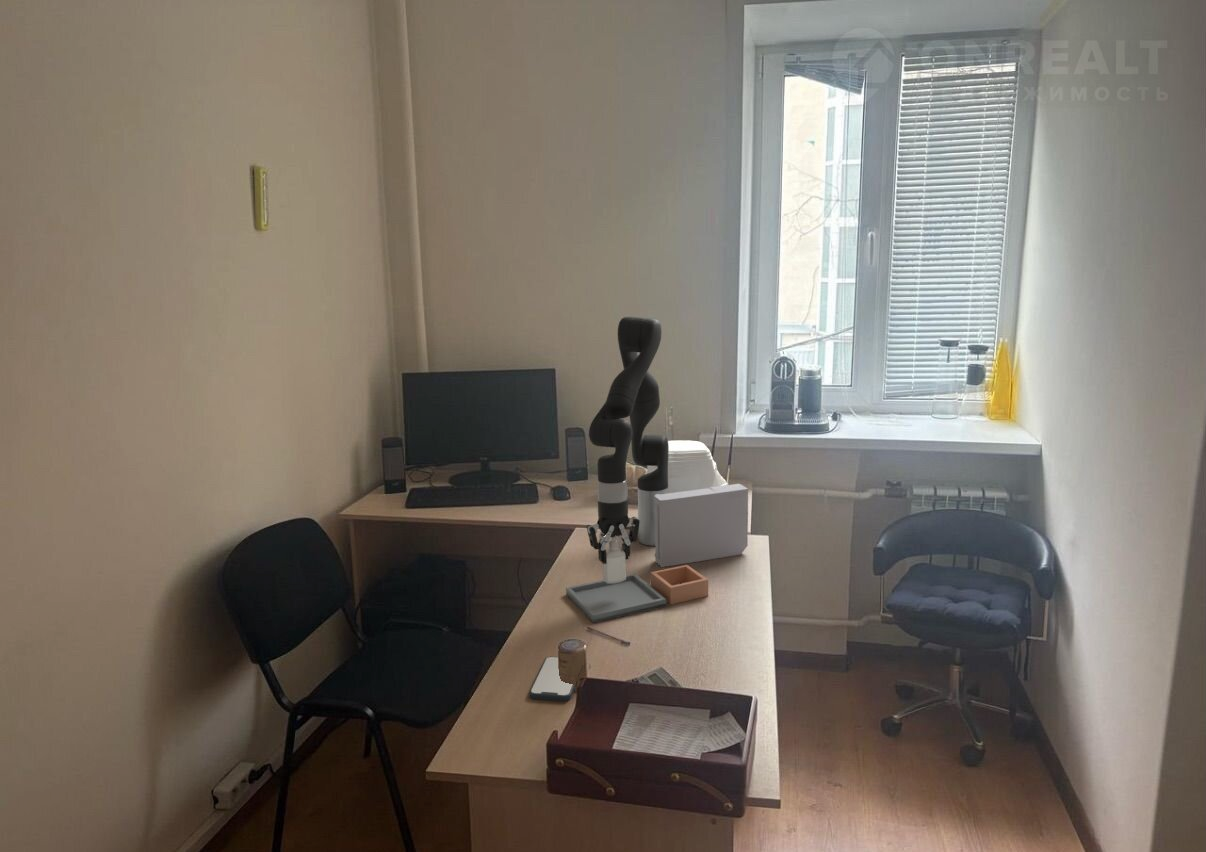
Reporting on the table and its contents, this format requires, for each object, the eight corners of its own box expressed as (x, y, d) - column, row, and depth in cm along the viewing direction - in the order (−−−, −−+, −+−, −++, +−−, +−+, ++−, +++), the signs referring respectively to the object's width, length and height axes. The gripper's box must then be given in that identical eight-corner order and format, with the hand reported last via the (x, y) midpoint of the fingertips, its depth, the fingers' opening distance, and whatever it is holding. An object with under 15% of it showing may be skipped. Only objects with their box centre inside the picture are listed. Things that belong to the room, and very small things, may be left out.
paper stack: (648, 511, 271) (646, 438, 266) (727, 510, 269) (728, 437, 263) (646, 533, 251) (645, 454, 245) (733, 532, 249) (733, 453, 243)
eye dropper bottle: (625, 584, 200) (624, 539, 197) (603, 584, 201) (601, 539, 198) (626, 577, 204) (625, 533, 202) (605, 576, 205) (603, 533, 202)
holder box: (650, 588, 210) (650, 572, 209) (687, 580, 215) (687, 564, 214) (670, 604, 201) (670, 587, 200) (708, 595, 205) (708, 579, 204)
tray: (566, 594, 208) (566, 587, 208) (635, 580, 216) (634, 573, 215) (593, 623, 192) (592, 615, 191) (666, 606, 200) (666, 599, 199)
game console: (653, 560, 229) (652, 494, 225) (738, 547, 237) (738, 483, 233) (660, 567, 224) (659, 500, 219) (747, 554, 232) (748, 488, 227)
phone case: (545, 662, 176) (527, 701, 161) (545, 655, 176) (527, 693, 160) (585, 664, 174) (570, 704, 159) (585, 658, 174) (570, 696, 159)
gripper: (632, 488, 204) (633, 550, 208) (580, 497, 198) (582, 560, 202) (645, 496, 197) (646, 560, 201) (591, 505, 192) (594, 571, 195)
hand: (614, 560), depth 201 cm, fingers closed on eye dropper bottle, 5 cm apart
